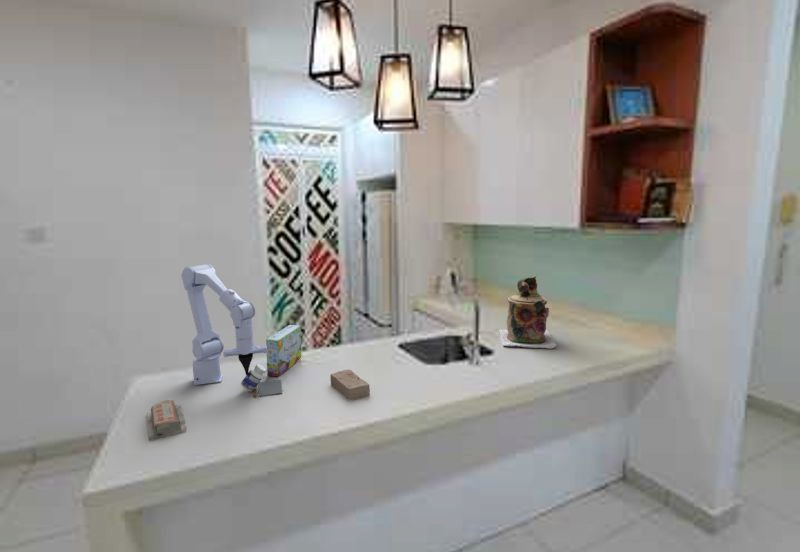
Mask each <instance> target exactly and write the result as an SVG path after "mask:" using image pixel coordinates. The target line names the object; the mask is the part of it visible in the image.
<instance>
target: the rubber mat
mask: <svg viewBox="0 0 800 552" xmlns="http://www.w3.org/2000/svg"><path fill="white" fill-rule="evenodd" d="M276 395H283V388H282V380H281V379H277V380H276V379H275V380H267V381H260V382H259V384H258V397H259V398H260V397H268V396H276Z"/></svg>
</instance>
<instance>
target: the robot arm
mask: <svg viewBox="0 0 800 552" xmlns="http://www.w3.org/2000/svg"><path fill="white" fill-rule="evenodd" d="M180 275H181V278H182V279H181V280H182V283H183V287H184V290H185V291H186V294H187V297H188V302H189V306H190V309H191V314H192V317H193V322H194V325H195V326H194V327H195V330H196V333H197V334H196V336H195V337H194V338H193V339H192V341H191V344H192V354H193V356H194V358H193V359H192V373H193V376H192V377H193V385H194V386H197V385H198V386H199V385H206V384H215V383H221V382H222V379H223V376H224V375H223V373H222V372H221V361H220V360H221V359H220V356H222V353H223V358H228V357H234V356H238V360H239V362H240V363H241V365H242V367H243V371H244V373H245V376H246V375H248V373H249V371H250V370H249V369H250V366H251V362H252V360H253V357H254V354H263V353H264V354H267V346H266V345H264V346H261V345H260V346H255V343H254V331H253V330H254V328H253V318H254V317H255V315H256V309H255V307H254V304H252V302H250V301H246V300H243V299H242V297H240V295H238V293H237V292H236V291H235V290H234V289H229V288H227V287H226V286H225V285H224V284H223V282H222V281H221V279H219V277H218V276H217V271H216V269H215V268H214V267H213V265H212V264H210V263H205V264H200V265H194V266H193V265H192V266H186V267H185V266H184V268H183V270H182V273H181V274H180ZM206 286H208V287H209V288H210V289H211V290H212V291H214V293H216V294H217V295H218V296H219V298H218V299H219V302H220V303H221V304H222V305H223V306H225V307H224V308H226V309H227V310H228V311H229V312H230V313H229V314H230V318H231V319H232V324H233V326H234V329H235V330H234V331H235V342H236V344H235V345H236V348H231V349H226V350H225V349H224V347H225V346H224V342H223V340H222V339H221V336H220V333H218V332H216V331H214V330H213V327H212V324H211V320H210V316H209V311H208V307H207V304H206V300H205V295H204V289H205V287H206Z"/></svg>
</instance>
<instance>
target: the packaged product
mask: <svg viewBox="0 0 800 552" xmlns="http://www.w3.org/2000/svg"><path fill="white" fill-rule="evenodd" d="M185 420H186V419H185V417H184V413H183V409H182V404H178V405H176V404H175V401H174V400H173V399H167V400H163V401H161V402H159V403H157V404H154V405H153V406H151V408H150V412H147V426H148V439H149V441H153V440H157V439H162V438H165V437H169V436H173V435H178V434H182V433H185V432H187V425H186V421H185Z"/></svg>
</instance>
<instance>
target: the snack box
mask: <svg viewBox="0 0 800 552" xmlns="http://www.w3.org/2000/svg"><path fill="white" fill-rule="evenodd" d="M301 331H302V329H301V325H296V324H289V325H287V326H286V327H284V328H282V329H281V330H280V331H277V332H276V333H274V334H272V335H271V336H269V337H267V339H266V340H265V346H267V353H266V372H267V373H266V374H267V376H269V377H274V376H277V377H276V378H279V377H281V376H282V375H283V374H284V373H285V372H287V371H288V370H289V369H290V368H291V367H293V366H294V365H295V364H296V363H298V362H299V361H300V360H301V359H302V332H301ZM300 358H301V359H300ZM299 359H300V360H299ZM298 360H299V361H298ZM297 361H298V362H297Z"/></svg>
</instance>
